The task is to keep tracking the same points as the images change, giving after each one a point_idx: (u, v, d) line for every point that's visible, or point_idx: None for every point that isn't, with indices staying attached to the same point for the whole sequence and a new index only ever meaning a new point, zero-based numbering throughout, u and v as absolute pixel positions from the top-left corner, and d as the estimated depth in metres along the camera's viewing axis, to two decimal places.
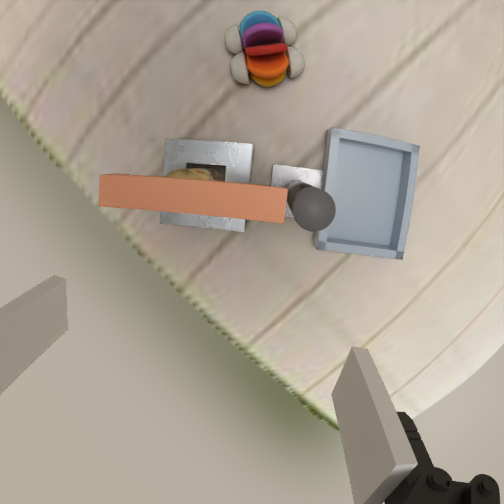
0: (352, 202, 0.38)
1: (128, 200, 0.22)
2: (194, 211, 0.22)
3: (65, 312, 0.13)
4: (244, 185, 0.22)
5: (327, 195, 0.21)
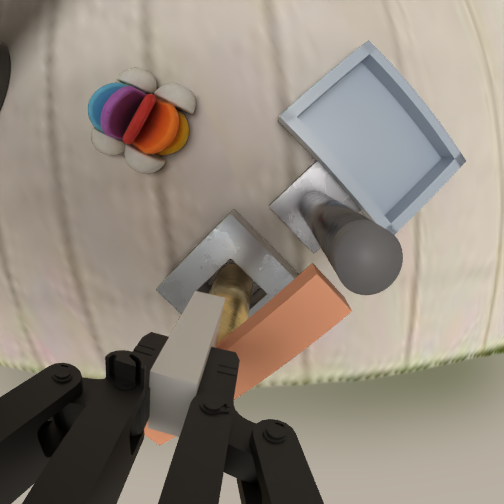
0: (372, 158, 0.27)
1: None
2: (246, 387, 0.15)
3: None
4: (266, 319, 0.14)
5: (368, 230, 0.12)
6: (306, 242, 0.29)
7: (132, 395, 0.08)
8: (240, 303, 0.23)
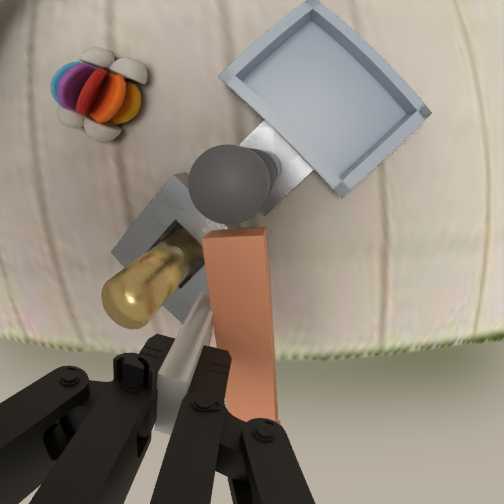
0: (325, 115, 0.25)
1: None
2: (268, 370, 0.14)
3: None
4: (212, 306, 0.13)
5: (195, 167, 0.12)
6: None
7: (140, 398, 0.08)
8: (169, 259, 0.23)
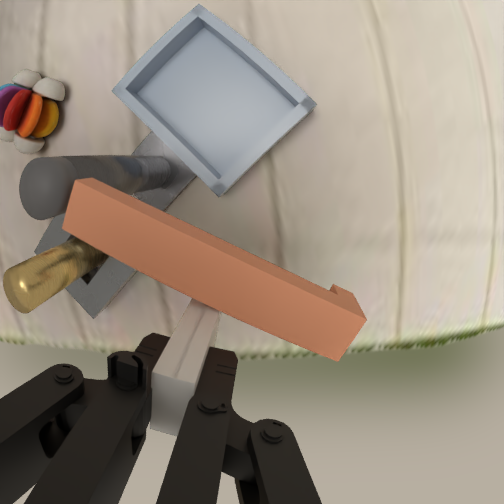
0: (211, 117, 0.27)
1: (308, 308, 0.13)
2: (197, 244, 0.13)
3: None
4: (112, 254, 0.13)
5: (24, 204, 0.13)
6: None
7: (134, 396, 0.08)
8: (62, 255, 0.23)
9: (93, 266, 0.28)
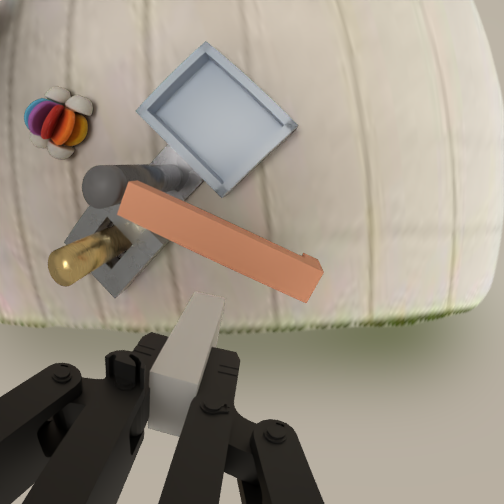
0: (215, 135, 0.34)
1: (283, 263, 0.20)
2: (211, 223, 0.20)
3: None
4: (154, 231, 0.20)
5: (86, 198, 0.20)
6: None
7: (132, 395, 0.08)
8: (95, 242, 0.30)
9: (118, 253, 0.35)
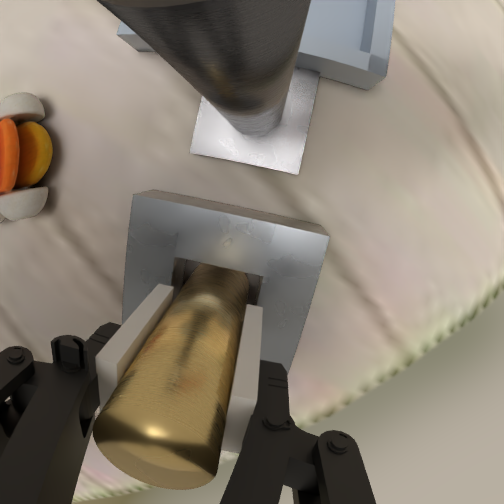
0: None
1: None
2: None
3: None
4: None
5: None
6: (275, 165, 0.17)
7: (78, 377, 0.08)
8: (193, 321, 0.11)
9: (244, 314, 0.16)
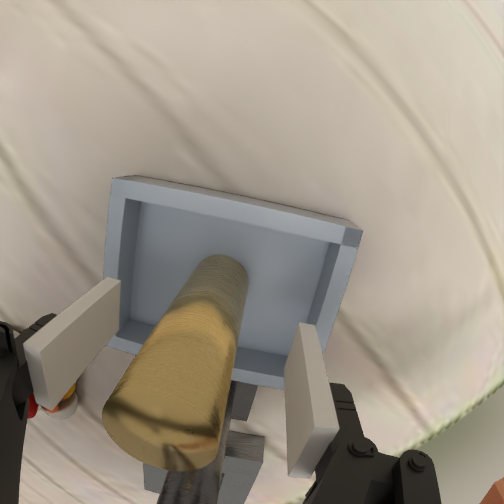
0: None
1: None
2: None
3: (117, 312, 0.15)
4: None
5: None
6: (231, 416, 0.23)
7: (7, 360, 0.07)
8: (196, 313, 0.12)
9: (244, 307, 0.17)
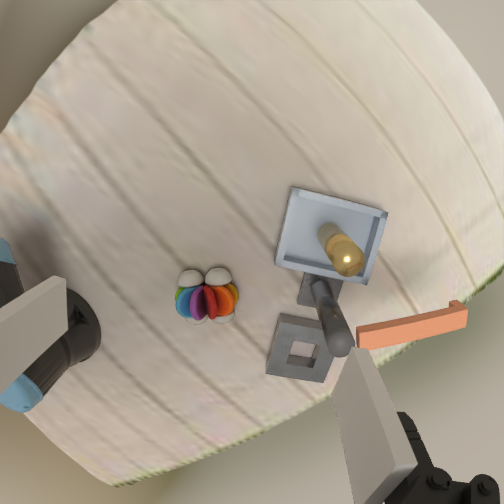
0: None
1: (450, 318, 0.31)
2: (412, 324, 0.31)
3: (65, 312, 0.13)
4: (384, 346, 0.32)
5: (335, 355, 0.33)
6: None
7: None
8: (343, 235, 0.38)
9: None
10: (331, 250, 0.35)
